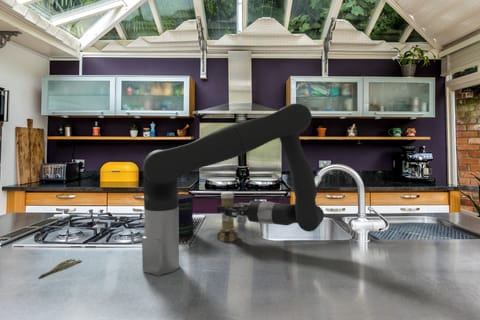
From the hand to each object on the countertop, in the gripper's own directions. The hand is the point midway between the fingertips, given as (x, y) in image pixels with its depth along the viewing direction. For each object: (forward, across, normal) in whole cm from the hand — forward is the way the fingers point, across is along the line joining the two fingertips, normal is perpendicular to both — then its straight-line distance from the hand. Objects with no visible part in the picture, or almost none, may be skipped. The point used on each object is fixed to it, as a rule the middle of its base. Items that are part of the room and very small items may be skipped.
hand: (221, 207), depth 113 cm
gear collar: (-2, 0, +11) cm, 11 cm away
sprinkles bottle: (-3, 0, +8) cm, 8 cm away
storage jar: (+15, +5, +11) cm, 19 cm away
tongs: (+25, +46, +11) cm, 53 cm away
